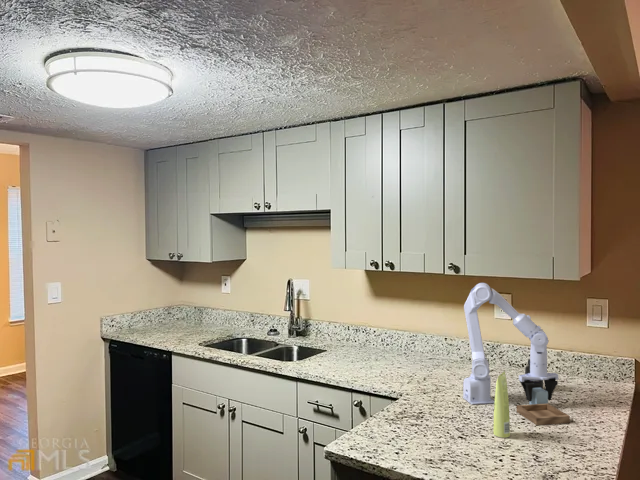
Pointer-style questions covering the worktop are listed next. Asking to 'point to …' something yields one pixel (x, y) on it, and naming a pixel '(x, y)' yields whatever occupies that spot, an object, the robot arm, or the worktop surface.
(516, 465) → the worktop surface
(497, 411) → the tube
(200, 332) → the worktop surface
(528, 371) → the supplement bottle
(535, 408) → the tray
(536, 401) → the block
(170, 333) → the worktop surface
